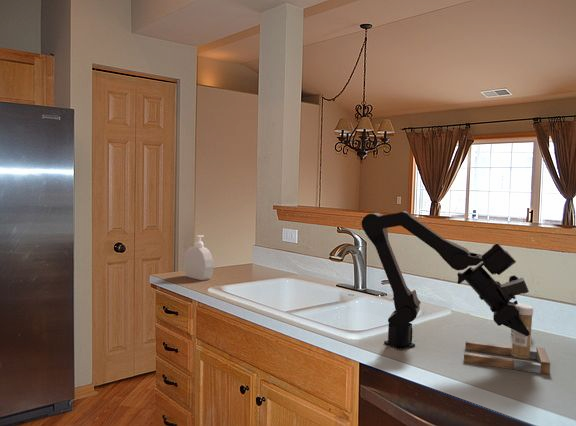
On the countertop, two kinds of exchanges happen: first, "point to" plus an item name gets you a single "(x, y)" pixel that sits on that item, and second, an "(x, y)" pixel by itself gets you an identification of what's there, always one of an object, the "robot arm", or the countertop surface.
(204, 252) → the soap bottle
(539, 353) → the walnut slot
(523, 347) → the sprinkles bottle
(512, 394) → the countertop surface
